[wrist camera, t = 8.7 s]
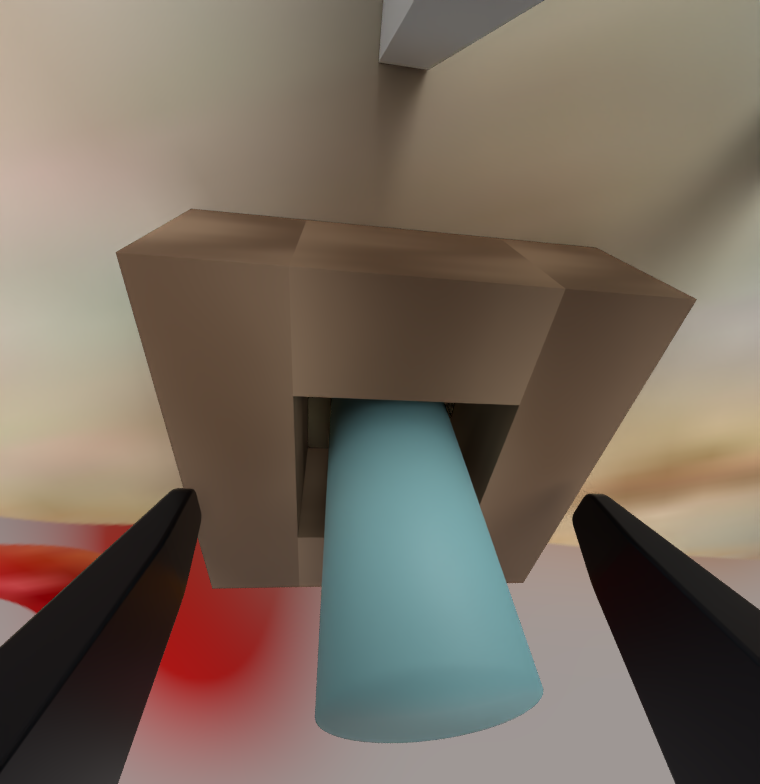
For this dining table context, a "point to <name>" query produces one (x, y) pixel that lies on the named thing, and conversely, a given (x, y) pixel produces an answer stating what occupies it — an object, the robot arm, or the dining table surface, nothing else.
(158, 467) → the dining table surface
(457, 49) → the small white footstool
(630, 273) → the socket
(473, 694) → the peg
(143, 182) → the dining table surface
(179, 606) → the robot arm
